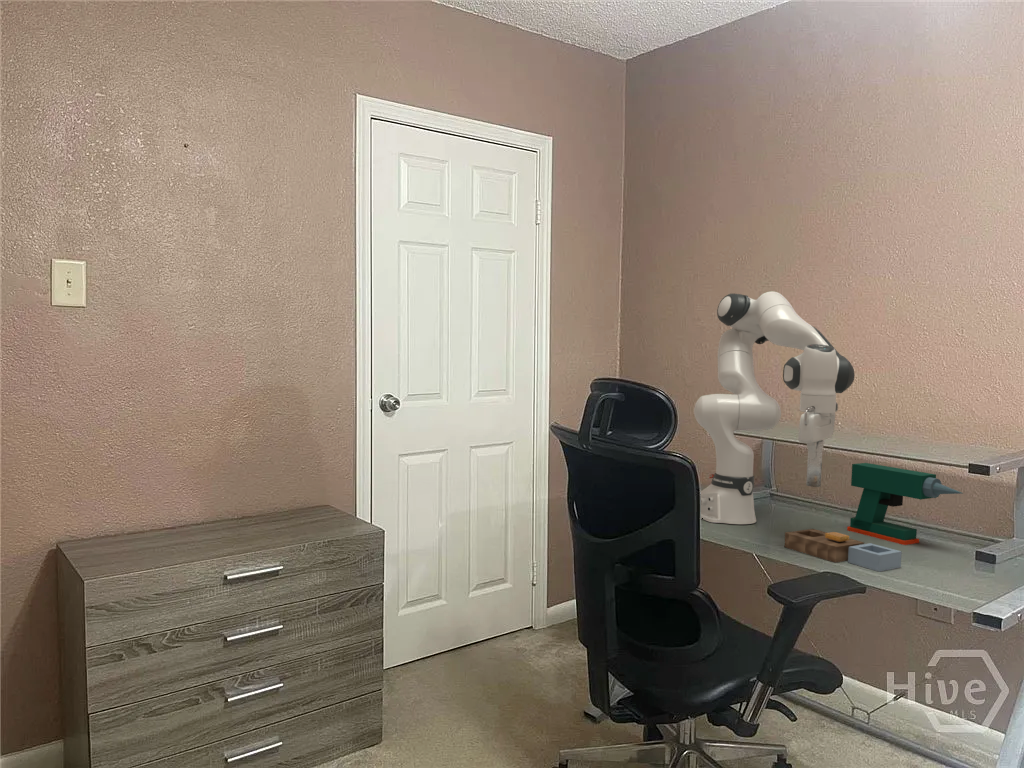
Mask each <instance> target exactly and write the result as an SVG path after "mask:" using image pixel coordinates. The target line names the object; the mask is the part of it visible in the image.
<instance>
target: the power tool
mask: <svg viewBox="0 0 1024 768" xmlns="http://www.w3.org/2000/svg"><path fill="white" fill-rule="evenodd" d="M850 481H851V482H850V486H852V487H854V488H861V489H862V493H861V497H860V500H859V502H858V503H859V504H858V506H857V511H856V513H855V516H854V517H850V520H849V523H850V524H849V526H847V529H846V531H848V532H853V533H857V534H861V535H864V536H868V537H871V538H876V539H879V540H883V541H887V542H891V543H895V544H899V545H903V546H907V545H914V544H919V543H920V538H917V534H918V533H917V531H918V529H917V528H915V527H909V526H904V525H899V524H897V523H893V522H887V521H884V520H885V517H886V513H887V511H888V508H889V507H894V508H895V507H900V506H903V500H904V499H903V498H904V497H907V498H912V499H916V500H927V499H928V500H929V499H936V498H939V497H940V495H957V494H958V495H959V494H964V492H961V491H959V490H956V489H954V488H952V487H949V486H946V485H943V483H942V481H941V480H940V479H939V478H937V474H934V473H929V472H921V471H918V470H910V469H906V468H900V467H893V466H886V465H881V464H875V463H870V462H869V463H868V462H859V463H852V464H851V480H850Z"/></svg>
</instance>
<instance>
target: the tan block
mask: <svg viewBox="0 0 1024 768" xmlns="http://www.w3.org/2000/svg"><path fill="white" fill-rule="evenodd" d="M825 538H828V539H830V541H833V542H836V543H842V542H844V541H848V540H849V538H850V535H848V534H845V533H841V532H836V531H832V532H831V531H830V532H827V533H825Z"/></svg>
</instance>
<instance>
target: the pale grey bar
mask: <svg viewBox="0 0 1024 768" xmlns="http://www.w3.org/2000/svg"><path fill="white" fill-rule="evenodd" d="M823 448H824V445H823V441H818V442H817V445H816V452H817V457H816V458H814V459H811V458H808V457H807V463H806V465H807V467H806V483H805V484H806V486H807V487H811V488H813V487H814V488H819V487H820V488H821V486H822V470H823V468H822V467H823Z"/></svg>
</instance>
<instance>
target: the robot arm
mask: <svg viewBox="0 0 1024 768" xmlns="http://www.w3.org/2000/svg"><path fill="white" fill-rule="evenodd" d="M716 314H717V319H718V321H720V322H721V323H722V324H723V325H726V326H727V327H731V329H728V330H726V331H724V332H723V333H722V334H721V336H720V339H719V343H718V346H717V347H718V349H717V380H718V383H719V384H720V386H721V387H722V388H723V389H724V390H726V391H728V392H730V393H731V394H730V393H712V394H711V393H710V394H705V395H701V396H700V397H699V398H697V400H696V402H695V403H694V408H693V415H694V419H695V420H696V422H697V424H699V426H700V427H701V428H703V429H704V430H705V431H706V432H707V433H708V435H709V437H710V438H711V439H712V442H713V446H714V449H715V460H716V461H715V463H716V464H715V465H716V467H715V473H710V474H709V477H708V479H711V483H710V484H709V485H708V486H707V487H705V488H704V489H702V490H700V492H701V518H700V519H701V520H703V521H707V522H709V523H717V524H718V523H719V524H720V523H721V524H730V525H750V524H755V523H757V518H756V513H755V501H754V493H753V491H754V488H755V475H754V460H755V459H754V457H755V456H754V455H755V454H754V450H753V449H752V447H751V446H750V445H749V444H747V443H745V442H743V441H742V440H740V439H738V438H737V437H736V436H735V434H734V432H735V431H753V432H759V431H760V432H761V431H766V430H767V431H768V430H774V429H775V427H777V426H778V425H779V423H780V421H781V417H782V410H781V406H780V404H779V402H778V401H777V400H776V398H774V397H772V396H771V395H768V394H767V392H765V391H764V390H763V389H762V388H761V386H760V385H759V383H758V382H757V379H756V375H755V368H754V354H753V353H754V352H753V348H754V344H755V343H756V344H757V345H763V344H765V342H770V343H772V344H773V345H776V346H780V347H785V348H792V349H797V350H802V351H803V352H802V353H800V354H798V355H797V356H794V357H793V356H792V357H790V358H789V359H788V360H787V361H786V362H785V363H784V364H783V370H782V380H783V383H784V384H785V385H786V386H787V387H788V388H789V389H790V390H793V391H798V392H800V397H799V399H800V400H799V411H800V412H803V413H802V414H801V415H800V419H799V424H798V434H797V436H798V437H797V438H798V442H799V443H801V444H806V448H807V459H808V458H811V459H814V458H816V457H817V452H816V445H817V442H818V441H823V446H824V445H825V440H826V439H830V438H832V437H833V435H834V431H835V425H836V424H835V423H836V422H835V421H836V412H838V411H839V404H838V402H837V394H842V393H844V392H846V391H847V390H848V389H849V388H850V387H851V386H852V385H853V383H854V381H855V369H854V366H853V365H852V363H851V362H850V361H849V360H848V358H846V357H845V356H843V355H842V354H841V353H839V352H838V351H837V350H836V348H835V347H834V346H833V345H832V344H831V342H830V341H829V340H828V339H827V338H826V336H824V335H823V333H822V332H821V331H820V330H819V329H818V328H816V327H815V326H813V325H811V324H810V323H809V322H807V321H805V319H803V318H802V317H801V316H800V315H799V314H798V313H797V312H796V310H795V308H794V307H793V306H792V304H791V302H789V300H788V299H787V298H786V297H785V296H784V295H782V293H780V292H777V291H771V290H770V291H767V292H764V293H761V295H760V296H758V297H757V299H754V298H751V297H749V295H747V294H741V293H736V292H735V293H732V292H731V293H729V294H726V295H725V296H724V297H723V298H721V300H720V301H719V304H718V305H717V309H716ZM702 518H703V519H702Z"/></svg>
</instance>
